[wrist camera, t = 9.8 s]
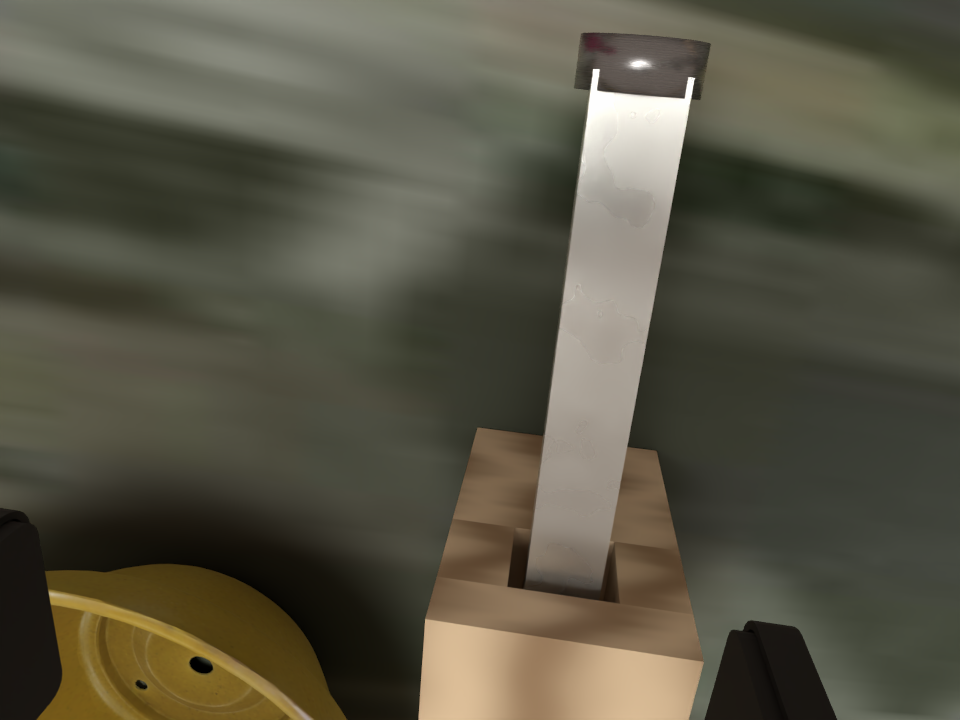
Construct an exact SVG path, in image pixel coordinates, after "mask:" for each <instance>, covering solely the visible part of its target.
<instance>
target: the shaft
mask: <svg viewBox="0 0 960 720" xmlns="http://www.w3.org/2000/svg"><path fill="white" fill-rule="evenodd" d="M710 46H711V44H710V43H706V42H701V41H694V40H687V39H679V38H669V37H659V36H647V35H634V34H617V33H581V37H580V45H579V53H578V61H577V69H576V77H575V85H574V88H576V89H585V90H588V98H587V105H586V113H585V121H584V128H583V136H582V143H581V151H580V159H579V166H578V174H577V181H576V189H575V197H574V204H573V212H572V219H571V227H570V235H569V242H568V250H567V257H566V265H565V273H564V280H563V288H562V295H561V303H560V311H559V318H558V326H557V334H556V341H555V349H554V356H553V364H552V372H551V379H550V387H549V394H548V402H547V410H546V417H545V425H544V432H543V440H542V448H541V455H540V463H539V470H538V478H537V486H536V493H535V501H534V508H533V516H532V524H531V531H530V539H529V546H528V554H527V562H526V569H525V577H524V584H523V589H524V590H531V591H538V592H544V593H551V594H558V595H565V596H571V597H578V598H585V599H591V600H598V601H599V598H600V592H601V587H602V582H603V576H604V571H605V565H606V560H607V554H608V549H609V543H610V538H611V532H612V527H613V521H614V516H615V511H616V505H617V500H618V494H619V489H620V483H621V478H622V472H623V467H624V461H625V456H626V451H627V445H628V440H629V434H630V429H631V423H632V418H633V412H634V407H635V401H636V396H637V390H638V385H639V380H640V374H641V369H642V363H643V358H644V352H645V347H646V341H647V336H648V330H649V325H650V320H651V314H652V309H653V303H654V298H655V292H656V287H657V281H658V276H659V270H660V265H661V260H662V254H663V249H664V243H665V238H666V232H667V227H668V221H669V216H670V210H671V205H672V199H673V194H674V189H675V183H676V178H677V172H678V167H679V161H680V156H681V150H682V145H683V139H684V134H685V129H686V123H687V118H688V112H689V107H690V101H691V99H695V100H700V99H701V94H702V88H703V83H704V78H705V72H706V67H707V62H708V56H709V51H710Z"/></svg>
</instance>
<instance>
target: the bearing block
mask: <svg viewBox="0 0 960 720" xmlns="http://www.w3.org/2000/svg"><path fill="white" fill-rule="evenodd" d="M542 440H543V436H540V435H532V434H524V433H517V432H509V431H501V430H494V429H486V428H477V431H476V435H475V439H474V442H473V446H472V450H471V453H470V457H469V461H468V464H467V468H466V472H465V475H464V479H463V483H462V486H461V490H460V494H459V497H458V501H457V505H456V508H455V512H454V516H453V519H452V523H451V527H450V530H449V534H448V538H447V541H446V545H445V549H444V552H443V556H442V560H441V563H440V567H439V571H438V574H437V578H436V582H435V585H434V589H433V593H432V596H431V600H430V604H429V607H428V611H427V615H426V618H425V631H424V646H423V661H422V675H421V690H420V704H419V719H418V720H689V716H690V712H691V708H692V705H693V701H694V697H695V693H696V689H697V686H698V682H699V678H700V674H701V670H702V667H703V663H704V661H703V656H702V652H701V648H700V643H699V639H698V634H697V630H696V625H695V621H694V616H693V612H692V607H691V603H690V598H689V594H688V589H687V585H686V580H685V576H684V571H683V567H682V562H681V558H680V554H679V549H678V545H677V540H676V536H675V531H674V527H673V522H672V518H671V513H670V509H669V504H668V500H667V495H666V491H665V486H664V482H663V477H662V473H661V469H660V464H659V460H658V455H657V451H654V450H647V449H639V448H631V447H627V451H626V456H625V461H624V467H623V472H622V478H621V483H620V489H619V494H618V500H617V505H616V511H615V516H614V521H613V527H612V532H611V538H610V543H609V549H608V554H607V560H606V565H605V571H604V576H603V582H602V587H601V592H600V598H599V601H598V600H591V599H585V598H578V597H571V596H565V595H558V594H551V593H544V592H538V591H531V590H524V589H523V584H524V577H525V569H526V562H527V554H528V546H529V539H530V531H531V524H532V516H533V508H534V501H535V493H536V486H537V478H538V470H539V463H540V455H541V448H542Z"/></svg>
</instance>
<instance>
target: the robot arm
mask: <svg viewBox="0 0 960 720" xmlns="http://www.w3.org/2000/svg"><path fill="white" fill-rule="evenodd" d="M61 681H62V665H61V660H60V654H59V648H58V643H57V637H56V631H55V626H54V620H53V614H52V608H51V603H50V597H49V591H48V586H47V580H46V574H45V569H44V563H43V557H42V552H41V546H40V540H39V535H38V531H37V528H36V527H35V526H34V525H32V524H30V522H29V519H28V517H27V516H26V515H25V514H24V513H23V512H20V511H16V510H9V509H3V508H0V720H37V719H38V717H39V716H40V715H41V714H42V713H43V711H44V710H45V709H46V708H47V706H48V705H49V704H50V703H51V702H52V700H53V699H54V697H55V696H56V694H57V692H58V690H59V687H60V684H61ZM705 720H837V718H836V716H835V713H834V711H833V709H832V706H831V704H830V701H829V699H828V697H827V694H826V692H825V689H824V687H823V685H822V682H821V680H820V677H819V675H818V673H817V670H816V668H815V665H814V663H813V661H812V658H811V656H810V653H809V651H808V649H807V646H806V644H805V641H804V639H803V637H802V635H801V633H800V631H799V630H798V629H797V628H796V627H793V626H786V625H779V624H772V623H766V622H759V621H752V620H751V621H748V622H747V623H746V624H745V626H744V629H743V631H739V630H731V632H730V633H729V636H728V638H727V642H726V646H725V649H724V653H723V656H722V660H721V663H720V667H719V670H718V674H717V678H716V681H715V685H714V688H713V692H712V695H711V699H710V703H709V706H708V710H707V713H706V717H705Z"/></svg>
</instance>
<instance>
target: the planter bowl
mask: <svg viewBox="0 0 960 720" xmlns="http://www.w3.org/2000/svg"><path fill="white" fill-rule="evenodd" d="M45 574H46V580H47V586H48V591H49V597H50V603H51V608H52V614H53V620H54V626H55V631H56V637H57V643H58V648H59V654H60V660H61V665H62V681H61V684H60V687H59V690H58V692H57V694H56V696H55V697H54V699H53V700H52V702H51V703H50V704H49V705H48V706H47V708H46V709H45V710H44V711H43V713H42V714H41V715H40V716H39V717H38V719H37V720H347V719H346V717H345V716H344V714H343V712H342V711H341V709H340V708H339V706H338V705H337V703H336V702H335V700H334V699H333V698H332V696H331V695H330V692H329V689H328V686H327V683H326V680H325V677H324V674H323V672H322V669H321V666H320V664H319V661H318V659H317V657H316V654H315V652H314V650H313V648H312V646H311V645H310V643H309V641H308V639H307V638H306V636H305V635H304V633H303V632H302V631H301V629H300V628H299V627H298V626H297V624H296V623H295V622H294V621H293V620H292V619H291V618H290V616H289V615H287V614H286V613H285V612H284V611H283V610H282V609H281V608H280V607H279V606H278V605H276V604H275V603H274V602H273V601H271V600H270V599H269V598H267V597H266V596H264V595H263V594H262V593H260V592H258V591H257V590H255V589H254V588H252V587H250V586H248V585H246V584H245V583H243V582H241V581H239V580H237V579H234V578H232V577H229V576H227V575H224V574H222V573H219V572H215V571H212V570H208V569H205V568H201V567H196V566H189V565H179V564H150V565H143V566H136V567H130V568H123V569H118V570H114V571H110V572H106V573H105V572H97V571H79V570H61V571H45ZM195 656H198V657H203V658H206V659H208V660H209V661H210V662H211V664H212V665H213V670H212V671H211V672H210V673H206V674H201V673H199V672H196V671H195V670H194V669H193V668H192V667H191V666H190V660H191V658H193V657H195ZM137 680H141V681H143V682H145V683H146V684H147V688H146V689H141V688H139V687H138V686H137V685H136V681H137Z"/></svg>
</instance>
